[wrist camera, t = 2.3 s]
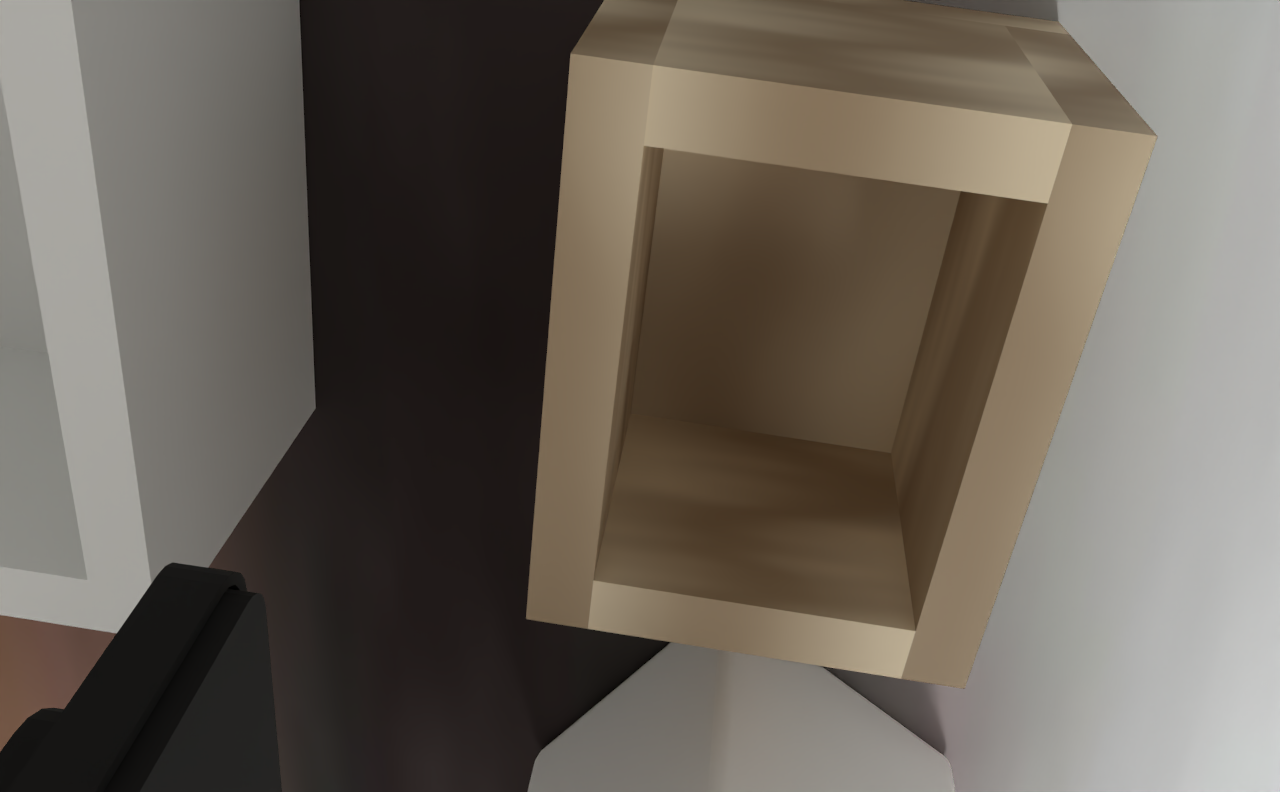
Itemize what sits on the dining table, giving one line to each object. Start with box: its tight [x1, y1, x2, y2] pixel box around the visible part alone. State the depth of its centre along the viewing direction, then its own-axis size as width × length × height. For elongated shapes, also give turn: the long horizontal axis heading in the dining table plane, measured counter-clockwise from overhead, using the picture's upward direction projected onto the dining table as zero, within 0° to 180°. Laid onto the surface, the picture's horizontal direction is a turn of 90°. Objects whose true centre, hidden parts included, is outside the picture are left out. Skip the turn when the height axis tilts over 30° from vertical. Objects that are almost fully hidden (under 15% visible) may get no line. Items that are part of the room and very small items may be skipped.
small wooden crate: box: [526, 0, 1157, 689], centre depth 19 cm, size 7×9×6 cm
